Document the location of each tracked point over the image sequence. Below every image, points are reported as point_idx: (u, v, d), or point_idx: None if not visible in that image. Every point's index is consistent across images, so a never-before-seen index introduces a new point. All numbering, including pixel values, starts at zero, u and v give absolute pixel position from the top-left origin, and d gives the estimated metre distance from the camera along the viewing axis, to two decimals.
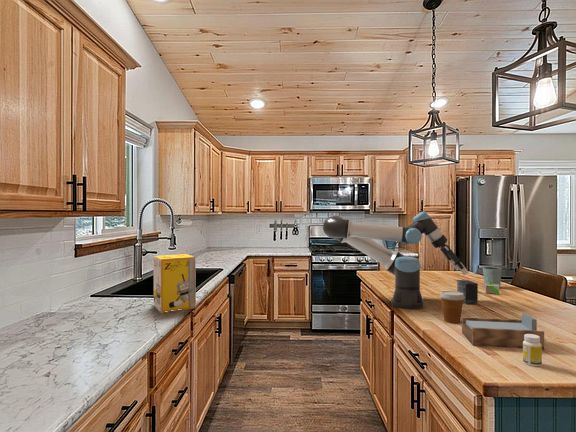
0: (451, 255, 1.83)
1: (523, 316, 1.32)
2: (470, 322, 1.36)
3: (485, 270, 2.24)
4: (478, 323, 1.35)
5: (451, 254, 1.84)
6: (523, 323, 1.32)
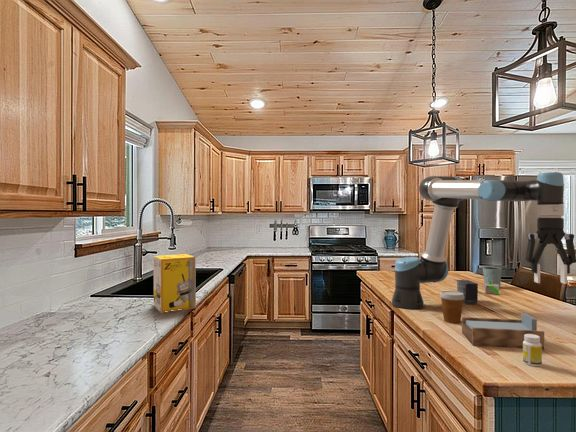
0: (527, 248, 1.30)
1: (523, 316, 1.32)
2: (470, 322, 1.36)
3: (485, 270, 2.24)
4: (478, 323, 1.35)
5: (528, 247, 1.30)
6: (523, 323, 1.32)
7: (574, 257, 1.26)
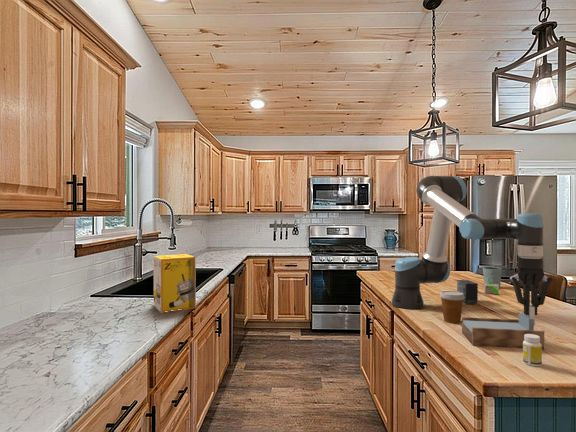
0: (515, 290, 1.31)
1: (520, 316, 1.33)
2: (467, 322, 1.36)
3: (485, 270, 2.24)
4: (475, 323, 1.35)
5: (515, 289, 1.31)
6: (520, 323, 1.33)
7: (542, 300, 1.28)
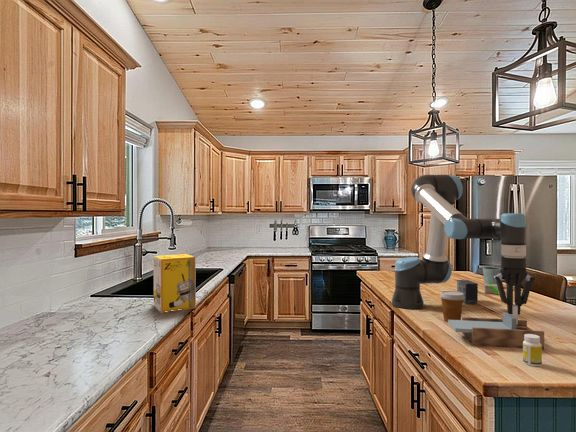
0: (499, 290, 1.32)
1: (504, 315, 1.34)
2: (452, 321, 1.37)
3: (485, 270, 2.24)
4: (460, 322, 1.36)
5: (499, 289, 1.32)
6: (504, 322, 1.34)
7: (525, 299, 1.29)
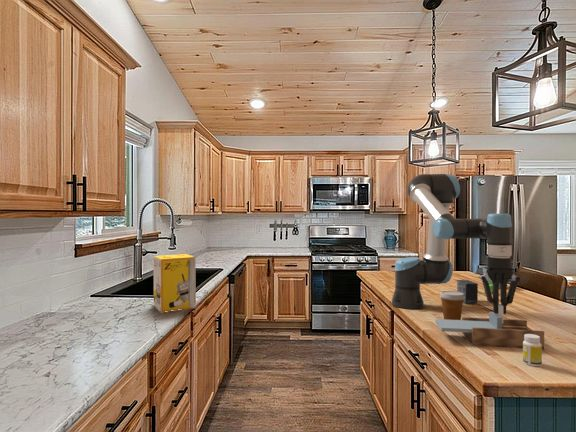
0: (485, 289, 1.33)
1: (490, 315, 1.34)
2: (439, 321, 1.38)
3: (485, 270, 2.24)
4: (446, 322, 1.37)
5: (485, 288, 1.33)
6: (490, 321, 1.35)
7: (511, 299, 1.30)
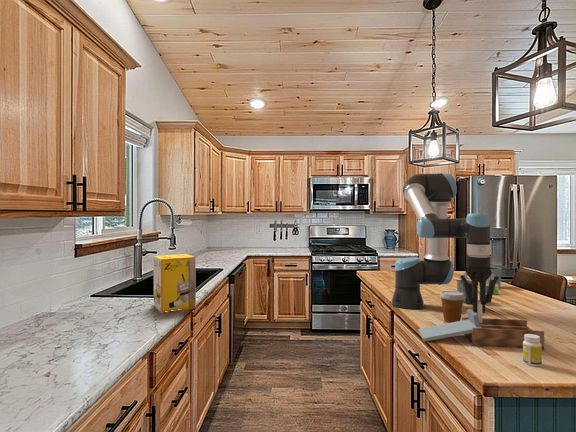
0: (464, 288, 1.34)
1: (468, 313, 1.36)
2: (421, 330, 1.39)
3: None
4: (428, 329, 1.38)
5: (464, 288, 1.34)
6: (470, 319, 1.36)
7: (490, 297, 1.31)
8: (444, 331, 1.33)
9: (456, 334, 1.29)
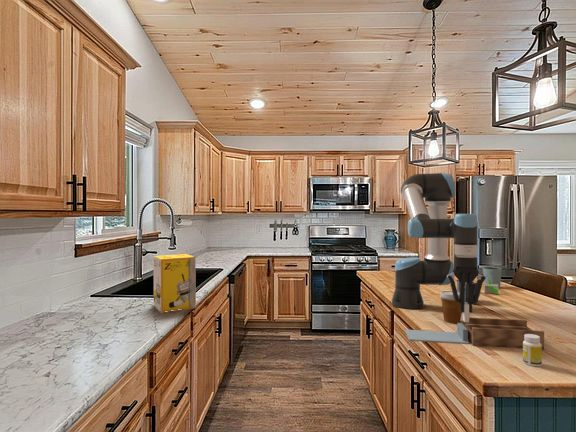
0: (451, 288, 1.35)
1: (458, 326, 1.37)
2: (408, 331, 1.40)
3: (485, 270, 2.24)
4: (415, 332, 1.39)
5: (451, 287, 1.35)
6: (458, 333, 1.37)
7: (476, 297, 1.32)
8: (431, 337, 1.34)
9: None
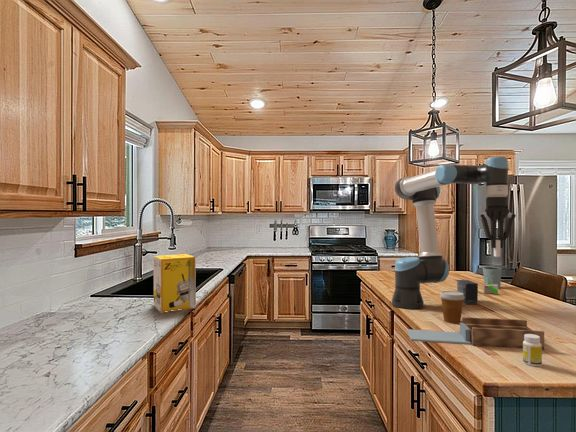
0: (483, 227, 1.47)
1: (460, 326, 1.36)
2: (410, 331, 1.40)
3: (485, 270, 2.24)
4: (418, 332, 1.39)
5: (483, 226, 1.46)
6: (460, 333, 1.36)
7: (507, 234, 1.44)
8: (433, 337, 1.33)
9: None
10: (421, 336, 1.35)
